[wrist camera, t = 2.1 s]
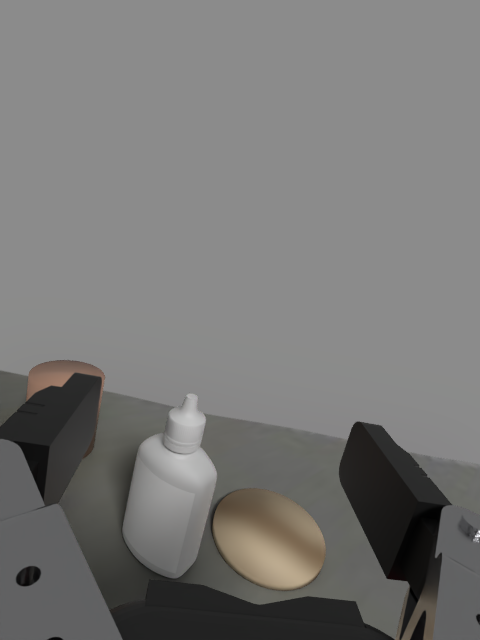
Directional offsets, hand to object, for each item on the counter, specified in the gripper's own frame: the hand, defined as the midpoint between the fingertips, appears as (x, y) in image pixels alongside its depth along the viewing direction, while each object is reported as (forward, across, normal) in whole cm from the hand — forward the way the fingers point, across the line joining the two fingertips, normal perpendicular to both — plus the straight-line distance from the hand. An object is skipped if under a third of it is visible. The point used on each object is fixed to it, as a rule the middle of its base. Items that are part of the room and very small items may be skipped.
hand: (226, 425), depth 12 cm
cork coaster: (+14, -8, +17) cm, 23 cm away
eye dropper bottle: (+11, +1, +17) cm, 20 cm away
